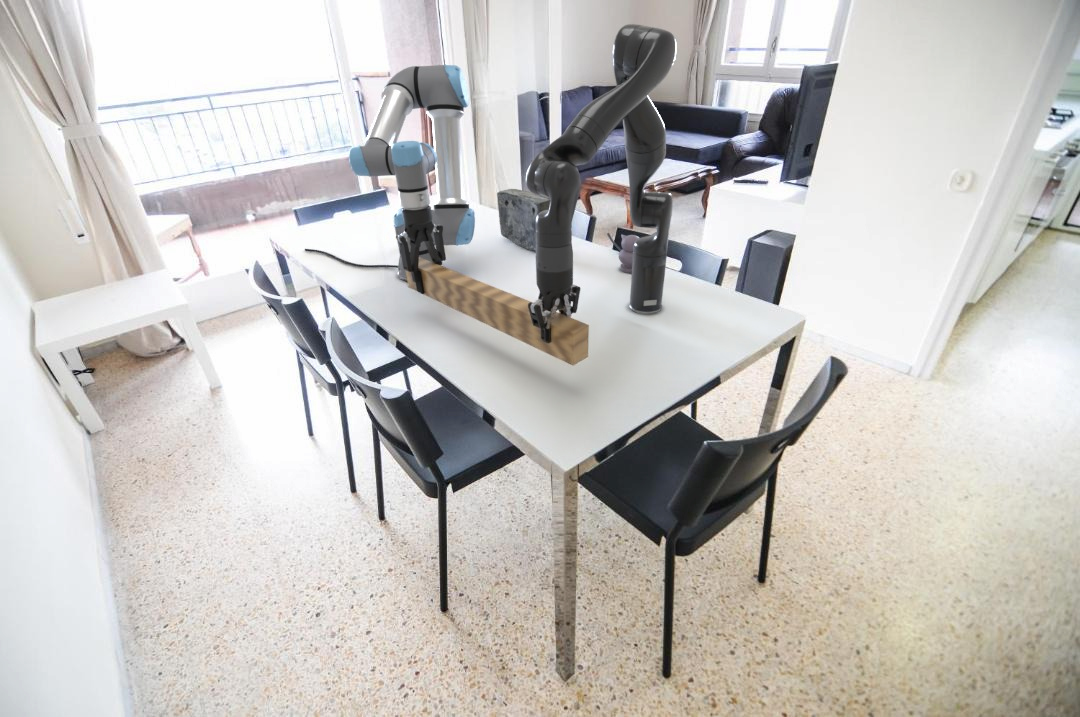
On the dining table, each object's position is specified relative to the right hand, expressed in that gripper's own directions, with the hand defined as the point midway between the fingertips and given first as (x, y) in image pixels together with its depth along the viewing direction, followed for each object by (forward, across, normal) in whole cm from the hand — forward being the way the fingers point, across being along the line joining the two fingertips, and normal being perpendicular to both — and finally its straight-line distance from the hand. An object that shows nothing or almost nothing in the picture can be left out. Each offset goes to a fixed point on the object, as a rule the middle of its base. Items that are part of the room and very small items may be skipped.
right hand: (555, 336), depth 109 cm
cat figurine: (+12, +68, +28) cm, 74 cm away
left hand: (+3, 0, +50) cm, 50 cm away
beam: (+3, 0, +25) cm, 25 cm away
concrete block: (+12, +62, +74) cm, 97 cm away
